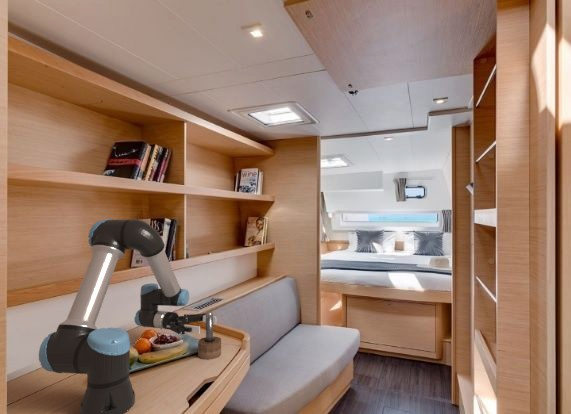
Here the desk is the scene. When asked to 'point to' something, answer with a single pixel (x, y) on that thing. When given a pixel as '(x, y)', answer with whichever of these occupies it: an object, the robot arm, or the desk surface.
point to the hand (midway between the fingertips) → (208, 324)
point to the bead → (209, 348)
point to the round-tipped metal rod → (209, 327)
